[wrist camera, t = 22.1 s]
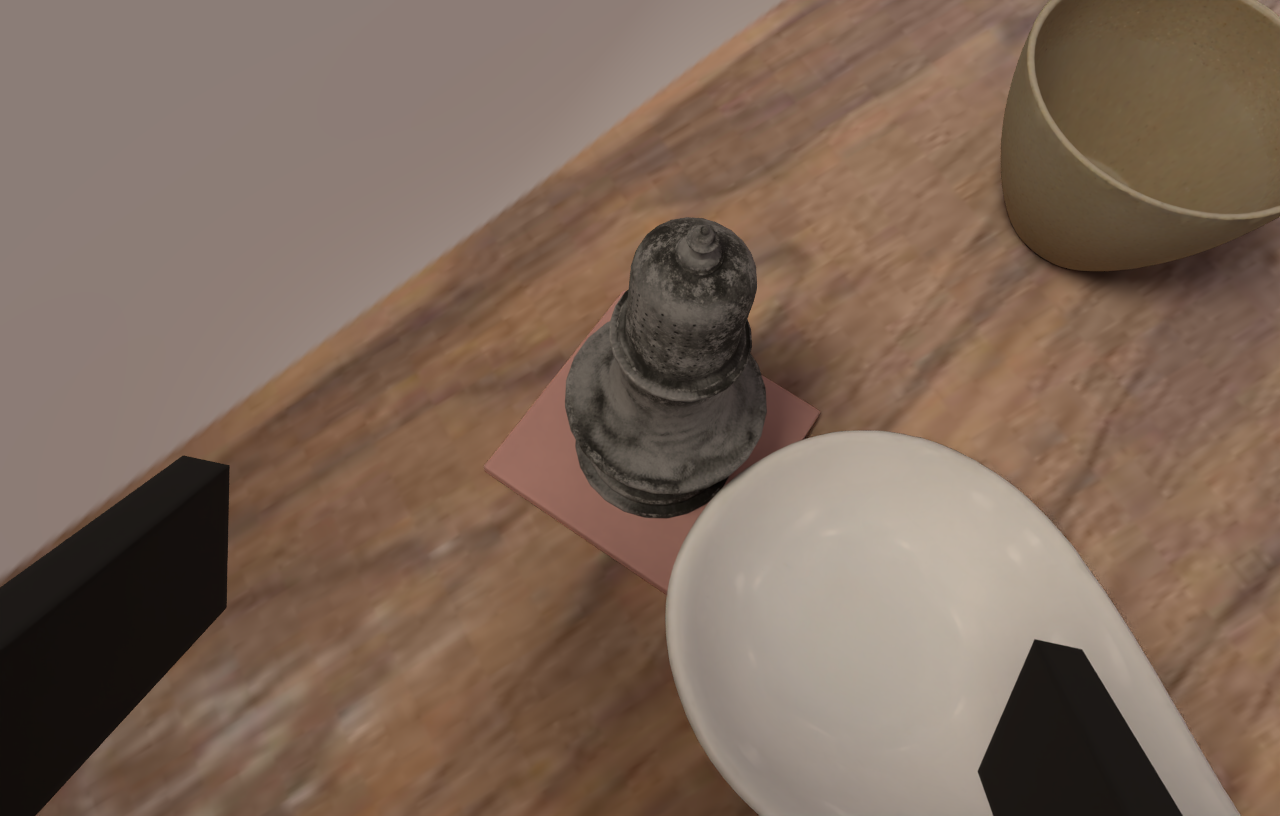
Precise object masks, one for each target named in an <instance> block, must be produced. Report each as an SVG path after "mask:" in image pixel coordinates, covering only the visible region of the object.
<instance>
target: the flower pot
mask: <svg viewBox="0 0 1280 816" xmlns="http://www.w3.org/2000/svg"><path fill="white" fill-rule="evenodd" d="M1001 180H1002V188H1003V194H1004V199H1005V204H1006V208H1007V211H1008V215H1009V218H1010V221H1011V223H1012V225H1013V227H1014V229H1015V231H1016V233H1017V234H1018V236H1019V237H1020V238H1021V240H1022V241H1023V242H1024V243H1025V244H1026V245H1027V246H1028V247H1029V248H1030V249H1031V250H1032V251H1034V252H1035V253H1037V254H1038V255H1039V256H1041V257H1042V258H1044V259H1046V260H1047V261H1049V262H1051V263H1053V264H1056V265H1058V266H1061V267H1064V268H1068V269H1073V270H1080V271H1113V270H1126V269H1135V268H1141V267H1146V266H1151V265H1156V264H1161V263H1165V262H1169V261H1173V260H1177V259H1181V258H1184V257H1188V256H1191V255H1194V254H1197V253H1200V252H1203V251H1206V250H1208V249H1211V248H1214V247H1217V246H1219V245H1222V244H1224V243H1226V242H1229V241H1231V240H1234V239H1236V238H1238V237H1240V236H1242V235H1244V234H1247V233H1249V232H1251V231H1253V230H1255V229H1257V228H1259V227H1261V226H1263V225H1265V224H1267V223H1269V222H1271V221H1273V220H1274V219H1276V218H1278V217H1280V17H1279V16H1278V15H1277V14H1276V13H1274V12H1273V11H1272V10H1270V9H1269V8H1268V7H1266V6H1264V5H1263V4H1261V3H1260V2H1258V1H1257V0H1049V2H1048V3H1047V4H1046V5H1045V7H1044V8H1043V9H1042V10H1041V12H1040V13H1039V15H1038V17H1037V19H1036V20H1035V22H1034V25H1033V27H1032V29H1031V31H1030V33H1029V35H1028V38H1027V40H1026V42H1025V45H1024V47H1023V50H1022V52H1021V55H1020V58H1019V60H1018V63H1017V67H1016V70H1015V73H1014V76H1013V79H1012V83H1011V87H1010V91H1009V94H1008V99H1007V104H1006V108H1005V114H1004V121H1003V128H1002V137H1001Z"/></svg>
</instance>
